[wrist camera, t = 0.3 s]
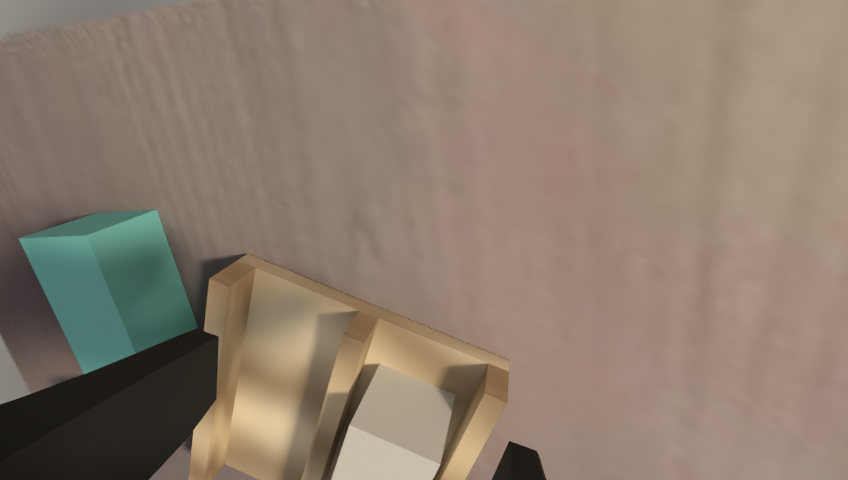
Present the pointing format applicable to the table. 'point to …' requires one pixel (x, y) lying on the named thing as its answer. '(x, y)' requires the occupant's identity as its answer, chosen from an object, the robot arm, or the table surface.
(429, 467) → the tall cream brick
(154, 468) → the robot arm
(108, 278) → the tall teal pillar
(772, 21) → the table surface
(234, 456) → the slotted board
